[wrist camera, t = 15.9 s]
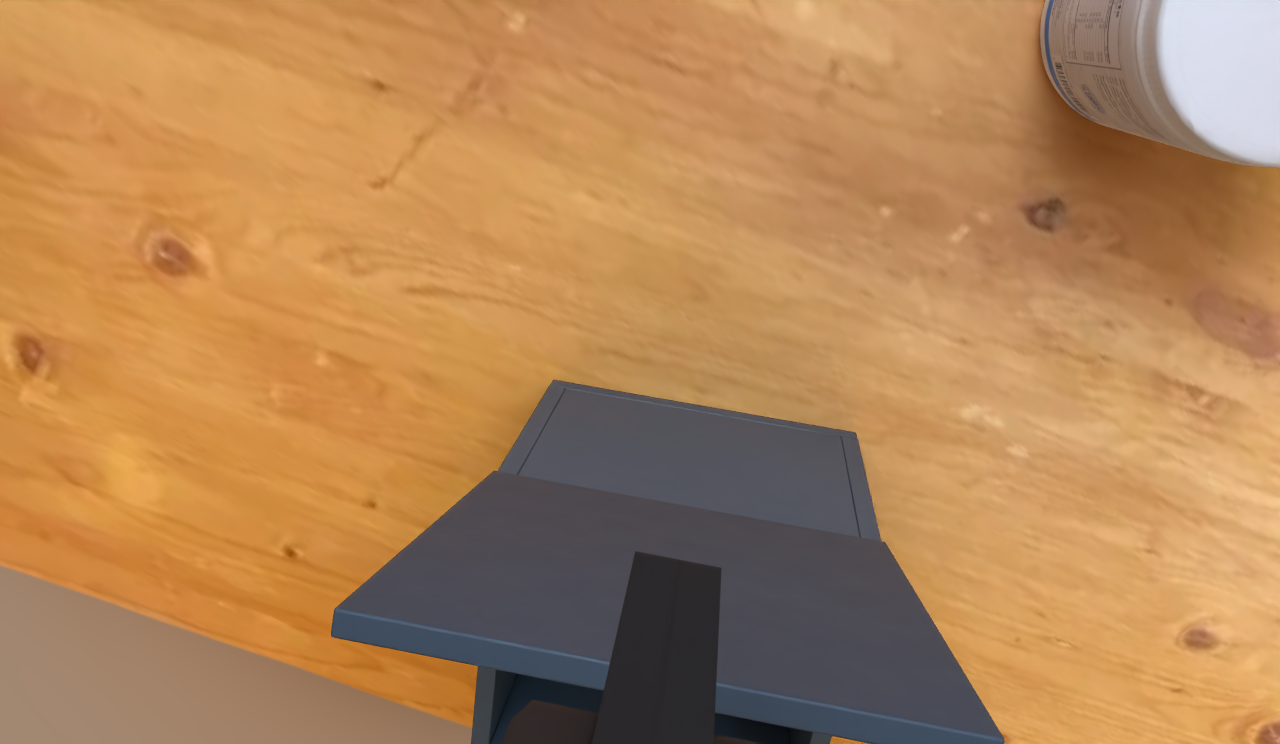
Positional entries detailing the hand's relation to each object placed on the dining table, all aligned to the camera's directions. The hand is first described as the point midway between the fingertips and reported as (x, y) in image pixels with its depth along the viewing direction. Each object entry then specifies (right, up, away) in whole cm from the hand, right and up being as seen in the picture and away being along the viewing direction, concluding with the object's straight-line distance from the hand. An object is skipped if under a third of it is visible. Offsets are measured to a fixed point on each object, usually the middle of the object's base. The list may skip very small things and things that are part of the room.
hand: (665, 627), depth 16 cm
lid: (+1, -3, +15) cm, 15 cm away
